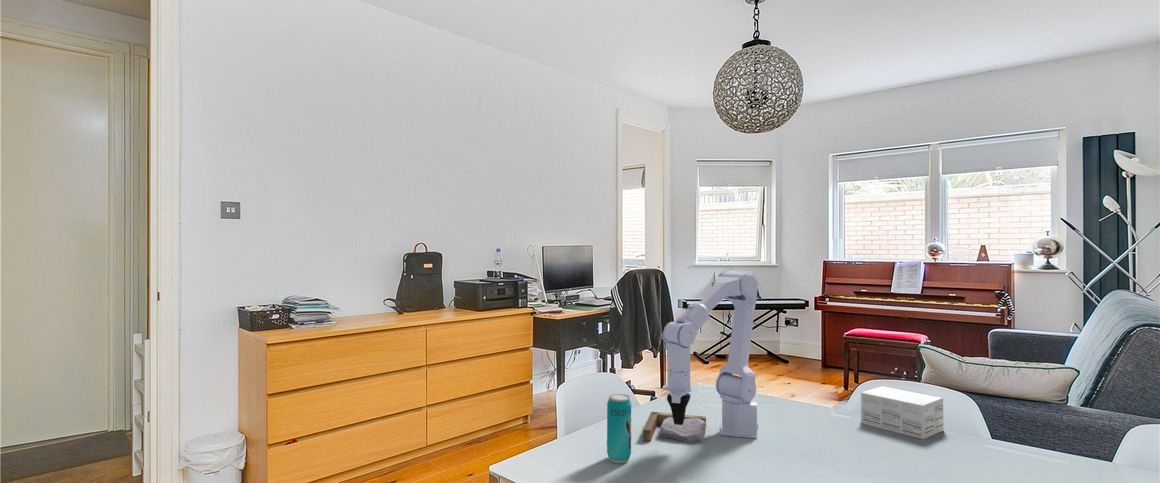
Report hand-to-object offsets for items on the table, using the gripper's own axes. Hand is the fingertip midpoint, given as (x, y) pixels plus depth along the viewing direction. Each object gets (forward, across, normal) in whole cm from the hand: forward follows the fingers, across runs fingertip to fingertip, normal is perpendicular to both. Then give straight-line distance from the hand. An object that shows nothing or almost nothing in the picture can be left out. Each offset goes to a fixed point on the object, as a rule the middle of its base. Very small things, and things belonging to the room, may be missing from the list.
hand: (678, 423), depth 136 cm
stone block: (+7, -10, 0) cm, 12 cm away
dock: (+6, -11, -2) cm, 13 cm away
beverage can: (+6, +11, -13) cm, 18 cm away
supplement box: (+7, -36, +60) cm, 70 cm away
